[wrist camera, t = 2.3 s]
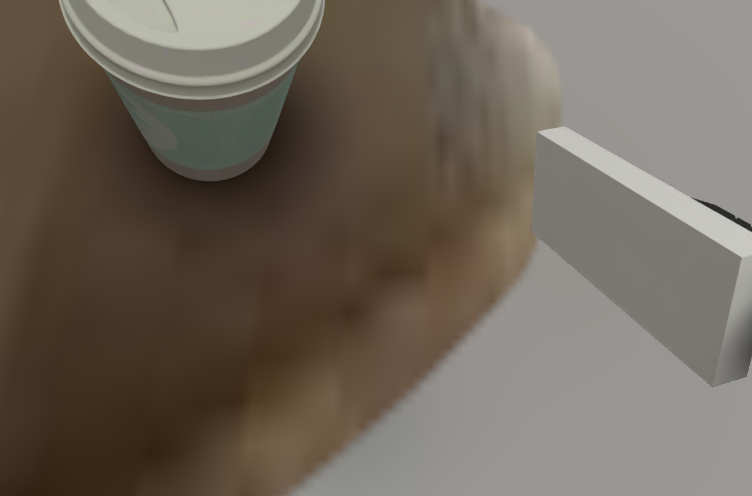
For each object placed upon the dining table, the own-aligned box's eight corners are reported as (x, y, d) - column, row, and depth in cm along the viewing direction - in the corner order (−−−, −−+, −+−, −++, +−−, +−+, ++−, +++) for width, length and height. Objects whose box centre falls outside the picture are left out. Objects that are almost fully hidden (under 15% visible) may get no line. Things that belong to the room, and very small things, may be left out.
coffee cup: (123, 35, 33) (62, -188, 22) (304, 54, 34) (334, -146, 23) (101, 204, 30) (19, 49, 19) (297, 216, 32) (328, 80, 21)
